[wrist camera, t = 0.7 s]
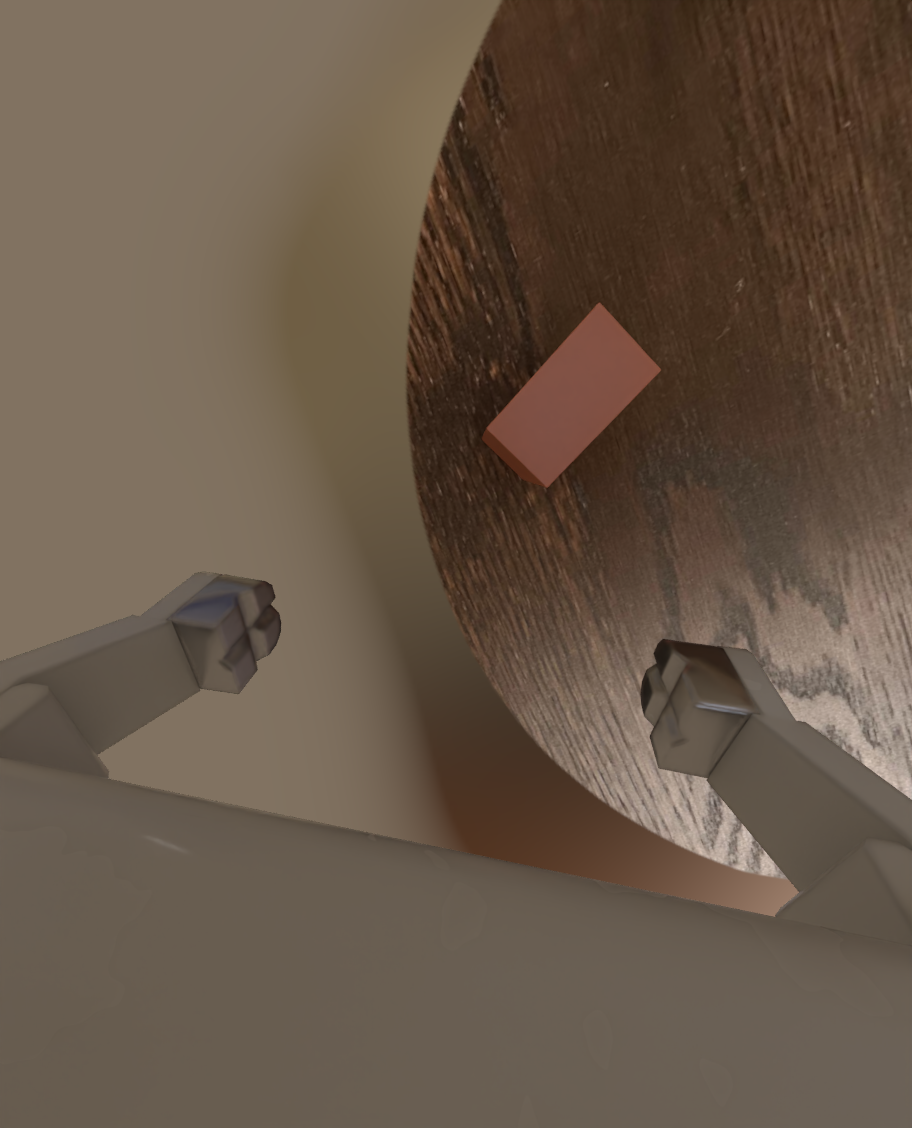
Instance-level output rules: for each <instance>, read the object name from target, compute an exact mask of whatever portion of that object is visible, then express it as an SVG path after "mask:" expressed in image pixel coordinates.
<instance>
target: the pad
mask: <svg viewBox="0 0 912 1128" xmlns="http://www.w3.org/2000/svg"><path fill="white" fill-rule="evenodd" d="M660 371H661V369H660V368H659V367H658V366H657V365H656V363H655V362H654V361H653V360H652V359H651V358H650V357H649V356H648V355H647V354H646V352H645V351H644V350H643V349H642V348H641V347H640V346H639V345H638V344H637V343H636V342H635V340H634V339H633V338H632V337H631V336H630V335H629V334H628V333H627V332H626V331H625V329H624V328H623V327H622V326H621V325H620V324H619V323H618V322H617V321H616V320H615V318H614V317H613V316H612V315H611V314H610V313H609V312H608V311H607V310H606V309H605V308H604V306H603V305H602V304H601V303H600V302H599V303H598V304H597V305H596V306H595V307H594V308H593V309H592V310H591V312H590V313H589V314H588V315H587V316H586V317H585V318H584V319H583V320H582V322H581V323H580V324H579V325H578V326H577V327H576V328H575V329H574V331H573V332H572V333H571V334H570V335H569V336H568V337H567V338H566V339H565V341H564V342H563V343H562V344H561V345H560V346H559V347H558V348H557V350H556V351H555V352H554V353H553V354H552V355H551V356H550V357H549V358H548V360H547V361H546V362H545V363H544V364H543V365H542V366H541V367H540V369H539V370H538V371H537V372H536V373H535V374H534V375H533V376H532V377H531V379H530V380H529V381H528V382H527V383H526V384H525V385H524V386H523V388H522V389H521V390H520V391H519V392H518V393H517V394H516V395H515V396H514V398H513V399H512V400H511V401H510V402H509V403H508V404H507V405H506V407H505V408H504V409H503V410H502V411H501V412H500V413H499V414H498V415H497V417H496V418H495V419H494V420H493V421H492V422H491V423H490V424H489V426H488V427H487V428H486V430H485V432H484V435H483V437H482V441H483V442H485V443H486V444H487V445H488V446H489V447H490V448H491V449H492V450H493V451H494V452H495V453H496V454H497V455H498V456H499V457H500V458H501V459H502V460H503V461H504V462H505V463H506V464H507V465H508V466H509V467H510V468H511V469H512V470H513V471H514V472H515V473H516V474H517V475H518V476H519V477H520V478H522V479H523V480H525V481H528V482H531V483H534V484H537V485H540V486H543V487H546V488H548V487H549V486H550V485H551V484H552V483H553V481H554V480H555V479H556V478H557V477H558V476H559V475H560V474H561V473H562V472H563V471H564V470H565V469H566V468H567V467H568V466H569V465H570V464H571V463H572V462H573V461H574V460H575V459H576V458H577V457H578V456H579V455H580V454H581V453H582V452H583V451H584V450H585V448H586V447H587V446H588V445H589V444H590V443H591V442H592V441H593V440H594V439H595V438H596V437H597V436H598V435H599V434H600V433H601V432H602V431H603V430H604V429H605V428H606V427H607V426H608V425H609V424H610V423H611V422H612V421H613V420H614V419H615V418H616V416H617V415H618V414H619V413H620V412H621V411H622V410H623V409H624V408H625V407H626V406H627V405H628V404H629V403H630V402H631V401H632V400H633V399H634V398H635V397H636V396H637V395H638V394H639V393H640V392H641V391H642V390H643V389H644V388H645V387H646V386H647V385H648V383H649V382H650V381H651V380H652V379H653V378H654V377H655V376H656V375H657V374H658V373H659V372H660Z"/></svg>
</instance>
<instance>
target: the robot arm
mask: <svg viewBox="0 0 912 1128" xmlns="http://www.w3.org/2000/svg"><path fill="white" fill-rule="evenodd" d="M274 599H275V594H274V590H273V587H272V585H271V584H269V583H268V582H266V581H260V580H254V579H249V578H243V577H237V576H230V575H222V574H217V573H210V572H198V573H195V574H194V575H192V576H191V577H190V578H189V579H187V580H186V581H185V582H183V583H182V584H181V585H179V586H178V587H177V588H175V589H174V590H173V591H172V592H170V593H169V594H168V595H166V596H165V597H164V598H163V599H161V600H160V601H159V602H157V603H156V604H155V605H154V606H152V607H151V608H150V609H148V610H147V611H146V612H145V613H143V614H142V615H141V616H135V615H132V616H129V617H126V618H123V619H120V620H118V621H115V622H112V623H109V624H106V625H103V626H101V627H97V628H95V629H92V630H89V631H86V632H83V633H80V634H77V635H74V636H72V637H69V638H66V639H63V640H60V641H57V642H54V643H51V644H49V645H46V646H43V647H40V648H37V649H35V650H31V651H29V652H26V653H23V654H20V655H17V656H14V657H11V658H9V659H6V660H3V661H0V1128H912V800H911V799H910V798H908V797H907V796H906V795H904V794H903V793H902V792H900V791H899V790H897V789H896V788H895V787H893V786H892V785H891V784H889V783H888V782H887V781H885V780H884V779H882V778H881V777H880V776H878V775H877V774H876V773H874V772H873V771H871V770H870V769H869V768H867V767H866V766H865V765H863V764H862V763H861V762H859V761H858V760H856V759H855V758H854V757H852V756H851V755H850V754H848V753H847V752H845V751H844V750H843V749H841V748H840V747H839V746H837V745H836V744H835V743H833V742H832V741H830V740H829V739H828V738H826V737H825V736H824V735H822V734H821V733H820V732H818V731H817V730H815V729H814V728H813V727H811V726H810V725H809V724H807V723H806V722H801V721H796V720H795V719H794V717H793V716H792V714H791V712H790V711H789V709H788V708H787V706H786V705H785V703H784V702H783V700H782V698H781V697H780V695H779V694H778V692H777V691H776V689H775V687H774V686H773V684H772V683H771V681H770V680H769V678H768V677H767V675H766V673H765V672H764V670H763V669H762V667H761V666H760V664H759V662H758V661H757V659H756V658H755V656H754V655H753V654H752V653H751V652H750V651H748V650H747V649H740V648H732V647H724V646H717V647H716V646H711V645H703V644H696V643H689V642H682V641H675V640H667V639H662V640H661V641H660V642H659V643H658V645H657V647H656V649H655V652H654V656H655V659H656V662H657V664H655V665H653V666H652V667H650V668H648V669H647V670H646V673H645V675H644V678H643V680H642V686H641V705H642V709H643V713H644V717H645V718H646V719H647V720H648V721H649V722H650V723H651V724H652V725H653V726H654V728H653V730H652V732H651V735H650V739H651V743H652V747H653V750H654V754H655V757H656V761H657V764H658V768H660V769H665V770H669V771H674V772H679V773H684V774H689V775H694V776H699V777H704V778H708V779H707V781H708V783H709V784H710V785H711V786H712V788H713V789H714V790H715V791H716V792H717V794H718V795H719V796H720V797H721V798H722V800H723V801H724V802H725V803H726V804H727V806H728V807H729V808H730V809H731V810H732V812H733V813H734V814H735V815H736V816H737V818H738V819H739V820H740V821H741V823H742V824H743V825H744V826H745V827H746V829H747V830H748V831H749V832H750V833H751V835H752V836H753V837H754V838H755V839H756V841H757V842H758V843H759V844H760V845H761V847H762V848H763V849H764V850H765V852H766V853H767V854H768V855H769V856H770V858H771V859H772V860H773V861H774V862H775V864H776V865H777V866H778V867H779V868H780V870H781V871H782V872H783V873H784V874H785V876H786V877H787V878H788V879H789V880H790V882H791V883H792V884H793V885H794V887H795V888H796V889H797V890H798V891H799V893H798V894H797V895H796V896H795V897H793V898H792V899H791V900H790V901H788V902H787V903H786V904H785V905H784V906H783V907H781V908H780V909H779V911H778V912H777V914H776V915H775V917H773V916H768V915H763V914H758V913H753V912H749V911H743V910H739V909H734V908H729V907H724V906H720V905H715V904H710V903H705V902H700V901H695V900H691V899H686V898H681V897H676V896H671V895H666V894H661V893H657V892H651V891H647V890H642V889H637V888H633V887H628V886H623V885H618V884H613V883H609V882H604V881H599V880H594V879H589V878H585V877H580V876H575V875H570V874H565V873H560V872H556V871H551V870H546V869H541V868H537V867H532V866H527V865H522V864H517V863H513V862H508V861H503V860H498V859H493V858H489V857H484V856H479V855H474V854H469V853H464V852H460V851H455V850H450V849H445V848H440V847H435V846H431V845H426V844H421V843H417V842H412V841H407V840H402V839H397V838H392V837H387V836H383V835H378V834H373V833H368V832H363V831H358V830H353V829H349V828H344V827H339V826H334V825H329V824H324V823H320V822H314V821H310V820H305V819H300V818H295V817H290V816H285V815H281V814H276V813H271V812H267V811H261V810H257V809H252V808H247V807H242V806H238V805H232V804H228V803H223V802H218V801H213V800H209V799H204V798H199V797H194V796H189V795H184V794H180V793H175V792H170V791H164V790H160V789H155V788H151V787H145V786H140V785H136V784H131V783H126V782H121V781H117V780H111V779H108V773H109V771H108V769H107V768H106V766H105V765H104V764H103V762H102V761H101V759H100V758H99V757H98V754H100V753H101V752H103V751H104V750H106V749H107V748H109V747H111V746H112V745H114V744H116V743H117V742H119V741H120V740H122V739H124V738H125V737H127V736H128V735H130V734H131V733H133V732H135V731H136V730H138V729H139V728H141V727H143V726H144V725H146V724H147V723H149V722H151V721H152V720H154V719H155V718H157V717H159V716H160V715H162V714H164V713H165V712H167V711H168V710H170V709H172V708H173V707H175V706H176V705H178V704H180V703H181V702H183V701H184V700H186V699H188V698H189V697H191V696H192V695H194V694H196V693H197V692H199V691H200V689H207V690H213V691H220V692H227V693H234V694H239V693H240V692H241V691H242V690H243V688H244V687H245V686H246V684H247V683H248V682H249V680H250V679H251V678H252V677H253V675H254V674H255V673H256V671H257V661H258V660H260V659H262V658H264V657H266V656H268V655H269V654H270V653H271V651H272V650H273V649H274V647H275V646H276V644H277V641H278V639H279V636H280V632H281V620H280V615H279V613H278V612H277V611H276V610H275V609H274V608H273V606H272V605H271V603H272V602H273V600H274ZM199 688H200V689H199Z"/></svg>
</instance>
